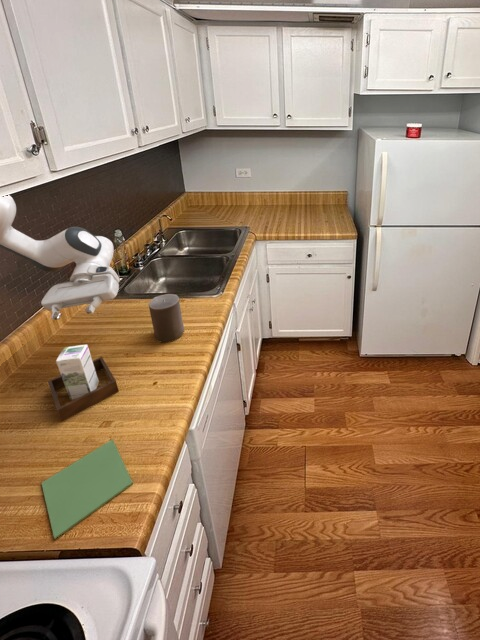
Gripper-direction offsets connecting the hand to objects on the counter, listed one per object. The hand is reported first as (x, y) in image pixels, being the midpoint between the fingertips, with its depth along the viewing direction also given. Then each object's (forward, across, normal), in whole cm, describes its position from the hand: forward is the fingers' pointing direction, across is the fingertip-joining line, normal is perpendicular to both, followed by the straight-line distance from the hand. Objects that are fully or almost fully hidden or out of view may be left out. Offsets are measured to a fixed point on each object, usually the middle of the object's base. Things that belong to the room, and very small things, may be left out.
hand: (72, 315), depth 95 cm
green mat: (+40, +12, +9) cm, 43 cm away
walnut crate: (+15, 0, +17) cm, 22 cm away
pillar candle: (-6, +17, +27) cm, 33 cm away
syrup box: (+15, 0, +17) cm, 22 cm away
